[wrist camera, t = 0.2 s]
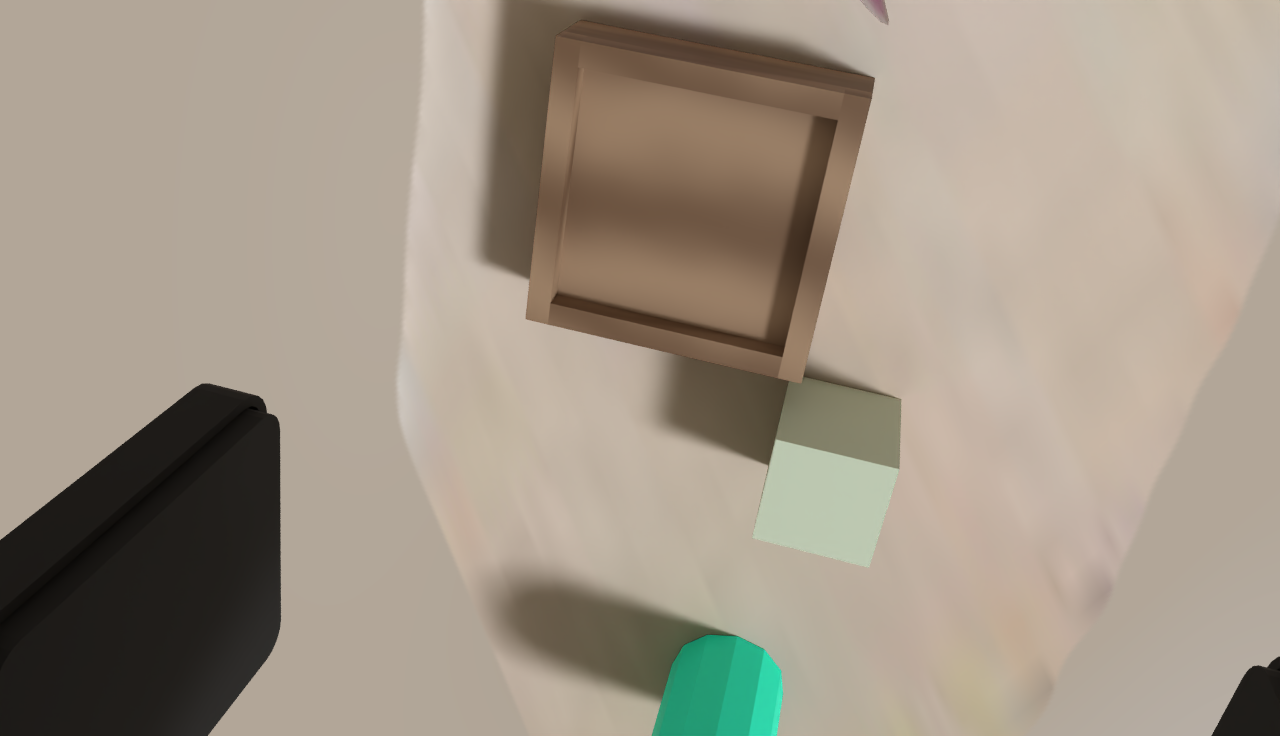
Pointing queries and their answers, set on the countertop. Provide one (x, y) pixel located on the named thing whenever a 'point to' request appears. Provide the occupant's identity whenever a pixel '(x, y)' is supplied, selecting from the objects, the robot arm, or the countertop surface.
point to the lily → (877, 9)
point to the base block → (692, 196)
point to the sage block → (831, 471)
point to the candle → (721, 690)
